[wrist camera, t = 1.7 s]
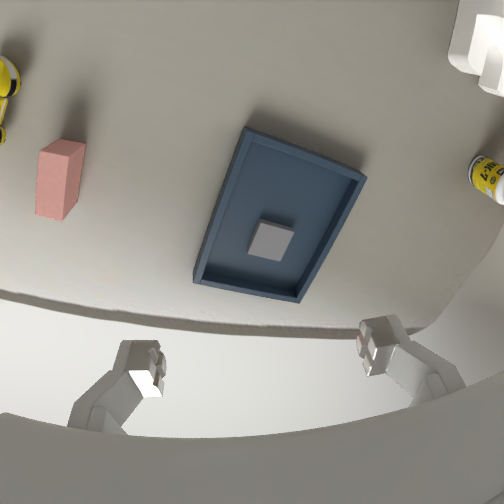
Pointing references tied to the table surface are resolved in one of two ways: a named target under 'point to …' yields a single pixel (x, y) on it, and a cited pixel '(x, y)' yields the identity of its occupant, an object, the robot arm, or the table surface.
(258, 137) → the tray
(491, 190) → the supplement bottle
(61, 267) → the table surface
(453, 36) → the white u-slot block
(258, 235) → the felt pad
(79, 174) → the eraser
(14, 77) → the game controller
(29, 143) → the table surface
